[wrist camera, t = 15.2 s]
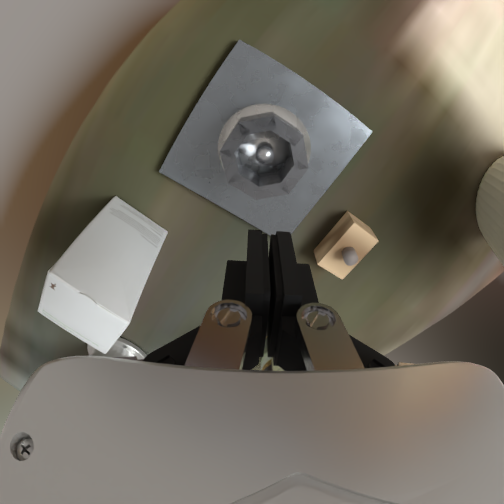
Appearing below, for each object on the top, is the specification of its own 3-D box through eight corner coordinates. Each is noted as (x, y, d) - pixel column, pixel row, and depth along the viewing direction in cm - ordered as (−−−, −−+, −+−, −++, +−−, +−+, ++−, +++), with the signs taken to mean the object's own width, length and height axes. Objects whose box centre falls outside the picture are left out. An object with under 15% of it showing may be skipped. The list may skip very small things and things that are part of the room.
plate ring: (273, 197, 31) (275, 211, 28) (212, 160, 29) (207, 171, 26) (315, 141, 27) (323, 149, 24) (252, 99, 25) (252, 101, 22)
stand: (337, 265, 37) (344, 286, 34) (313, 250, 36) (319, 271, 32) (370, 228, 34) (382, 247, 31) (347, 210, 33) (357, 228, 30)
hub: (282, 238, 35) (285, 260, 32) (161, 169, 31) (148, 183, 27) (369, 130, 28) (385, 138, 24) (240, 40, 24) (236, 34, 20)
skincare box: (96, 229, 35) (32, 310, 22) (117, 191, 32) (44, 267, 19) (147, 265, 38) (104, 358, 25) (173, 231, 35) (129, 326, 22)
